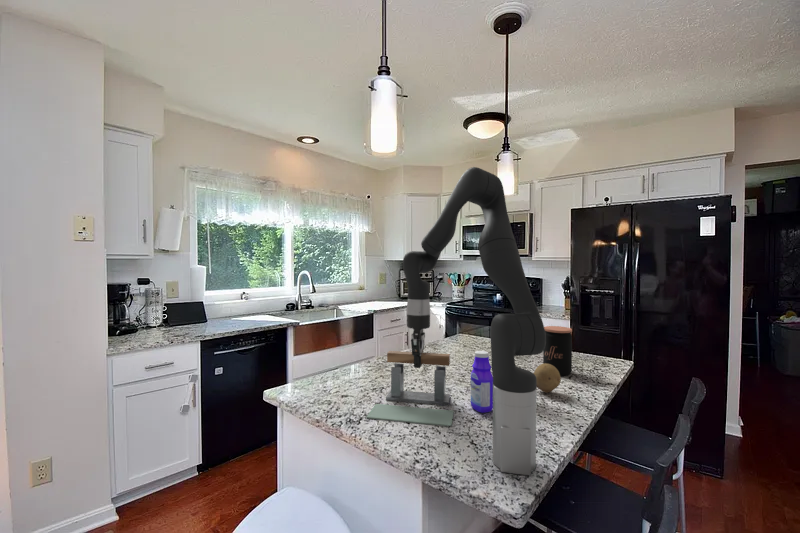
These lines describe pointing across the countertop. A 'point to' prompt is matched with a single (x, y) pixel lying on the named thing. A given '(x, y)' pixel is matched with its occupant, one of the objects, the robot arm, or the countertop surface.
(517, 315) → the robot arm
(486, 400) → the bottle
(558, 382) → the tan round lump
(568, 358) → the coffee jar
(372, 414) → the mat
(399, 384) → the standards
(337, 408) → the countertop surface
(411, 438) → the countertop surface
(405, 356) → the rail
